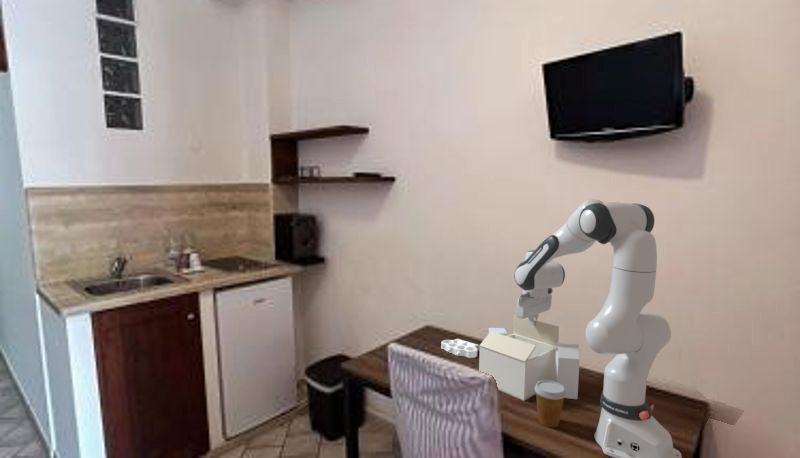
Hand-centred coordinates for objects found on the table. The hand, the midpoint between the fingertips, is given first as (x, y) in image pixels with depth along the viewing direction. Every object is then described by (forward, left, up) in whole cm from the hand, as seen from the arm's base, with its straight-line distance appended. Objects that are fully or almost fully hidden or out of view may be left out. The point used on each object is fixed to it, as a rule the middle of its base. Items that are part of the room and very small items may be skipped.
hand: (532, 324), depth 176 cm
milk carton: (-17, +5, -21) cm, 27 cm away
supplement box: (+19, -3, -21) cm, 28 cm away
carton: (0, +10, -21) cm, 23 cm away
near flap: (0, +17, -4) cm, 18 cm away
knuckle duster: (+35, +2, -21) cm, 41 cm away
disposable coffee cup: (-23, +27, -21) cm, 41 cm away
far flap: (0, -1, -2) cm, 3 cm away
